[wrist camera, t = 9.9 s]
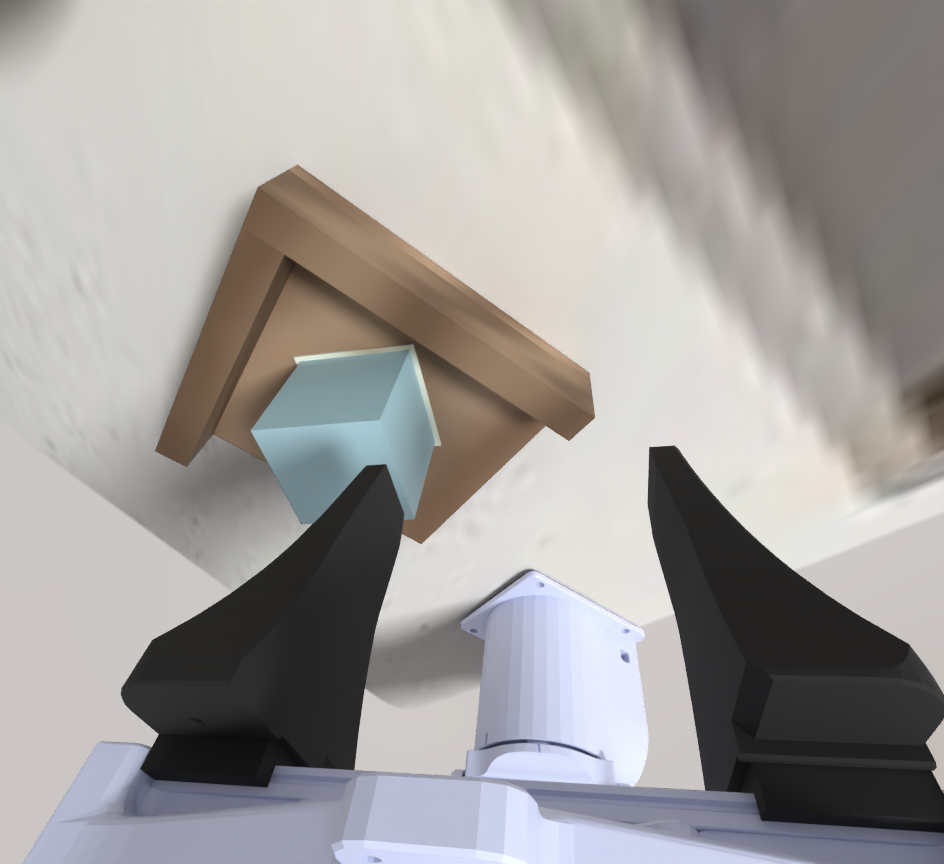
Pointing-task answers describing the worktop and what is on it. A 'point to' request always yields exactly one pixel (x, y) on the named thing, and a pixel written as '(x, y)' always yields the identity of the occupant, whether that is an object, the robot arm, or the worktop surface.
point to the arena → (368, 342)
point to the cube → (347, 430)
